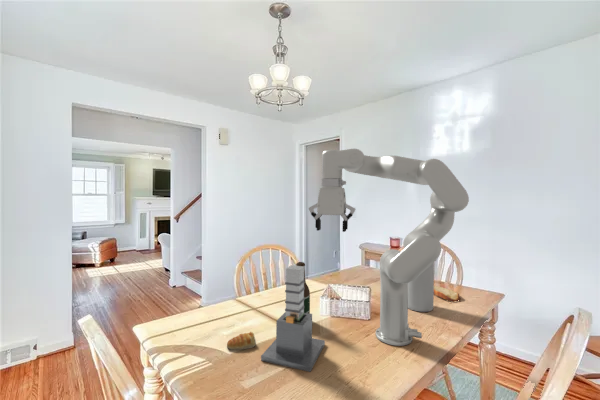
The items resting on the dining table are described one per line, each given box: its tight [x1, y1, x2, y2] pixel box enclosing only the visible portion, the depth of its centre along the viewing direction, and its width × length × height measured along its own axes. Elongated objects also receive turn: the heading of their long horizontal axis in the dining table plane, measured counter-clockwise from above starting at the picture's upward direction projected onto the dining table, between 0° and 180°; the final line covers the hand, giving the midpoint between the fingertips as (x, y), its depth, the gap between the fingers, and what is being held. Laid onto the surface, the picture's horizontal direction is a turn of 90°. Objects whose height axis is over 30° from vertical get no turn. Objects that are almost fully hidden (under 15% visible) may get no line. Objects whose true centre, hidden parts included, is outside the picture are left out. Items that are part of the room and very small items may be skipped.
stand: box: [260, 311, 326, 373], centre depth 92 cm, size 16×16×13 cm
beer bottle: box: [295, 261, 311, 314], centre depth 115 cm, size 8×8×24 cm
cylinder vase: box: [408, 262, 435, 313], centre depth 131 cm, size 12×12×25 cm
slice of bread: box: [434, 285, 461, 302], centre depth 148 cm, size 18×18×4 cm
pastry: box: [226, 331, 257, 351], centre depth 96 cm, size 9×7×4 cm
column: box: [284, 264, 306, 322], centre depth 92 cm, size 5×5×18 cm
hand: (331, 230), depth 104 cm, fingers open, 9 cm apart
